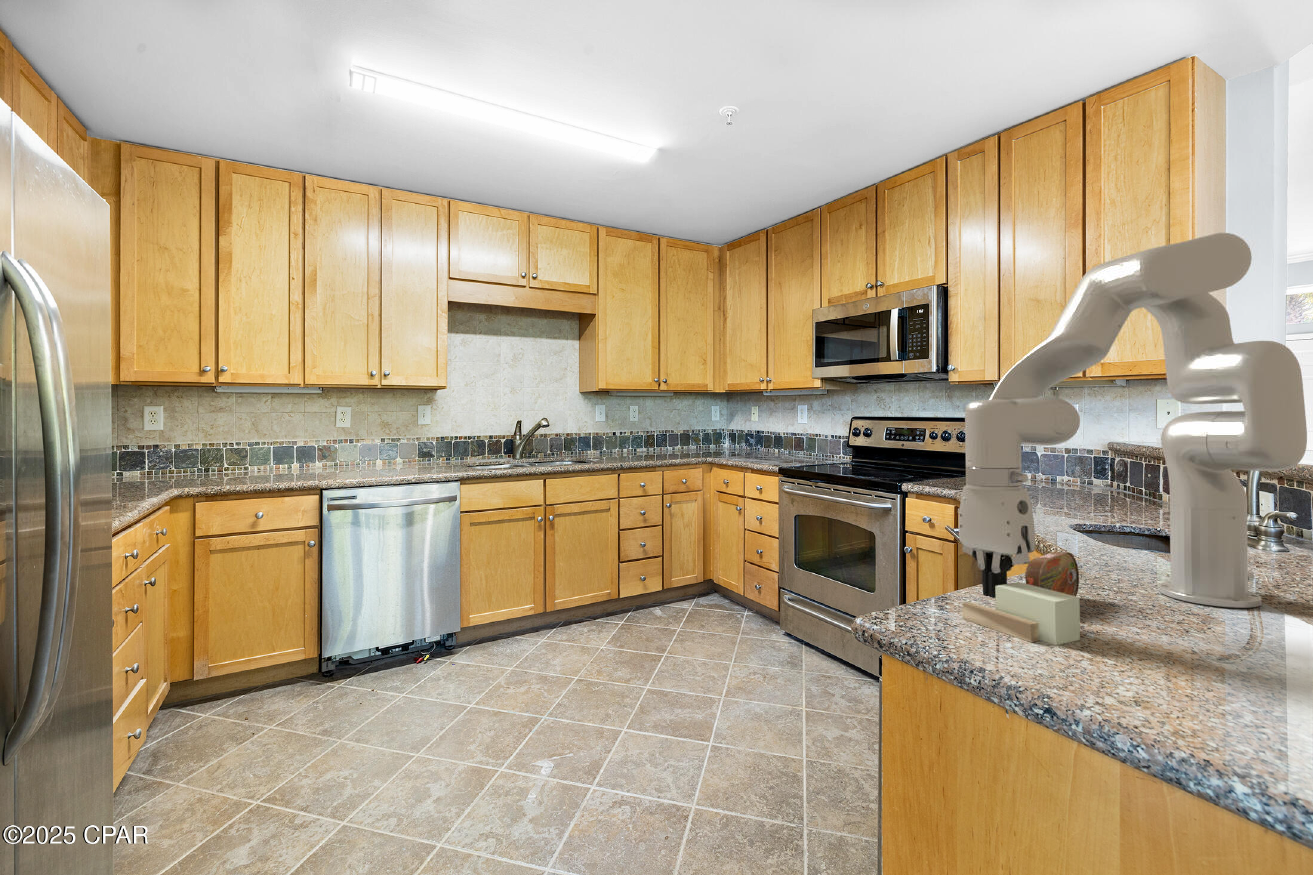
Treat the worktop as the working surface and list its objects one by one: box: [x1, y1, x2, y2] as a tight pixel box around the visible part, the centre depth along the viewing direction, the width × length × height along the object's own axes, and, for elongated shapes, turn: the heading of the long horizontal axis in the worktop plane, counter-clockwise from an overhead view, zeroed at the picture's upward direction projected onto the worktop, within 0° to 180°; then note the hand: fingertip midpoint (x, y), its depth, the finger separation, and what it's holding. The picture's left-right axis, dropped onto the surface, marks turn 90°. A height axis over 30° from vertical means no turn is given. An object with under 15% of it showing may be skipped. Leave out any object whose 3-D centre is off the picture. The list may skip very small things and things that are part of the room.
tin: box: [1024, 551, 1080, 597], centre depth 97 cm, size 15×3×8 cm, turn 125°
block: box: [995, 581, 1081, 646], centre depth 84 cm, size 5×9×6 cm, turn 21°
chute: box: [962, 601, 1039, 643], centre depth 87 cm, size 9×11×2 cm
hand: (994, 595), depth 90 cm, fingers closed
